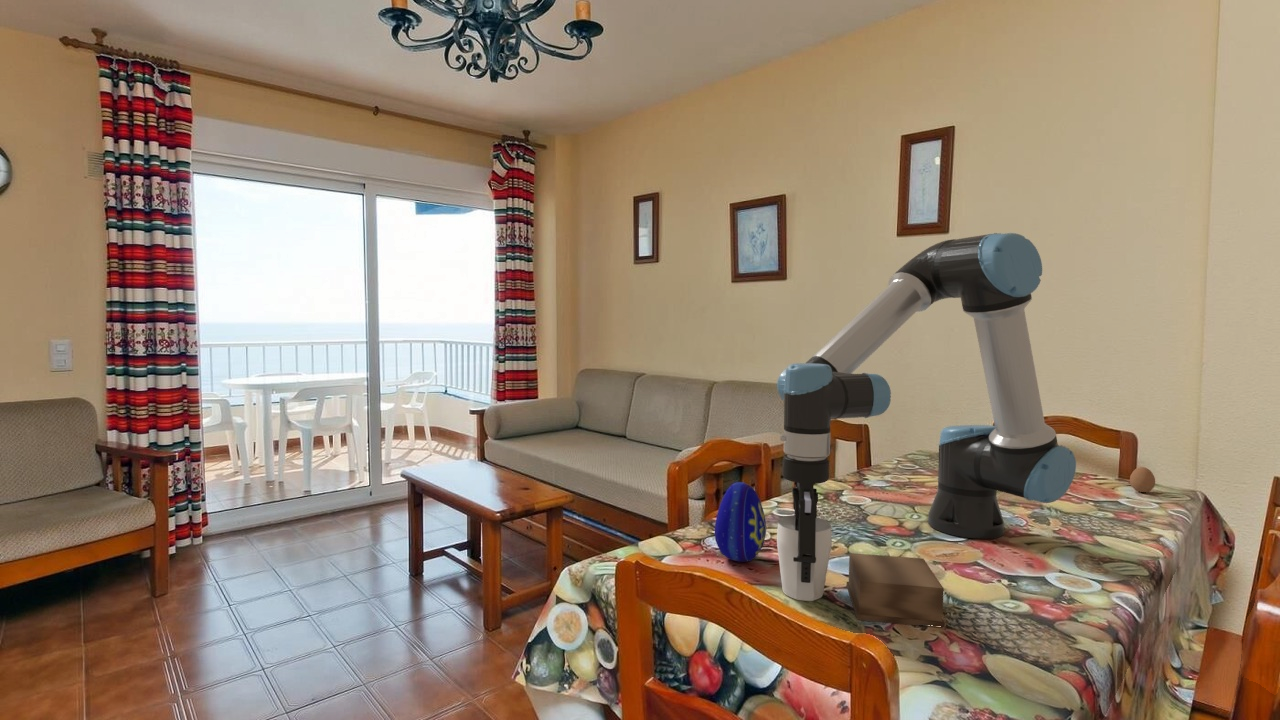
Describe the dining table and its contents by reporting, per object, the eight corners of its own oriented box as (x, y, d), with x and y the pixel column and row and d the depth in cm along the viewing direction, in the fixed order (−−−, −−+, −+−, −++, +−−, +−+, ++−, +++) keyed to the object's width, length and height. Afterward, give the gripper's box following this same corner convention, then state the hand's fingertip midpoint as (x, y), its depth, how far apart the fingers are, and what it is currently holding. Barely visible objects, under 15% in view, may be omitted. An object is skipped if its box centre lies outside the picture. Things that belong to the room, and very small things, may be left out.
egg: (1159, 495, 169) (1161, 469, 168) (1139, 495, 169) (1140, 469, 168) (1143, 489, 174) (1145, 465, 174) (1124, 489, 174) (1125, 464, 174)
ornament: (750, 573, 115) (752, 492, 114) (705, 563, 119) (706, 485, 119) (772, 554, 124) (773, 479, 123) (729, 545, 129) (730, 473, 128)
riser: (923, 592, 107) (924, 558, 107) (944, 627, 95) (946, 589, 95) (846, 585, 110) (847, 552, 109) (857, 619, 97) (858, 581, 97)
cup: (832, 607, 102) (834, 534, 101) (775, 601, 103) (777, 530, 103) (827, 584, 110) (829, 517, 110) (775, 579, 112) (776, 513, 111)
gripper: (781, 442, 117) (778, 562, 118) (785, 469, 96) (782, 614, 97) (823, 444, 115) (819, 565, 117) (836, 472, 94) (832, 619, 96)
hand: (802, 587), depth 107 cm, fingers closed on cup, 9 cm apart
